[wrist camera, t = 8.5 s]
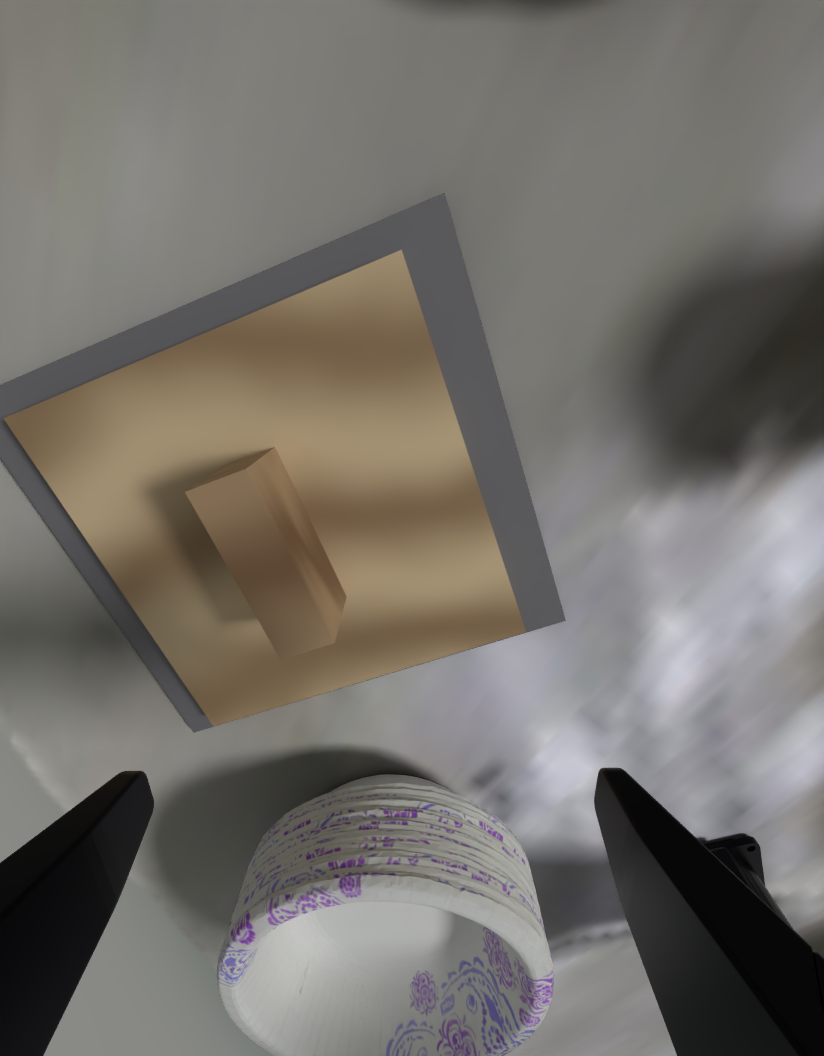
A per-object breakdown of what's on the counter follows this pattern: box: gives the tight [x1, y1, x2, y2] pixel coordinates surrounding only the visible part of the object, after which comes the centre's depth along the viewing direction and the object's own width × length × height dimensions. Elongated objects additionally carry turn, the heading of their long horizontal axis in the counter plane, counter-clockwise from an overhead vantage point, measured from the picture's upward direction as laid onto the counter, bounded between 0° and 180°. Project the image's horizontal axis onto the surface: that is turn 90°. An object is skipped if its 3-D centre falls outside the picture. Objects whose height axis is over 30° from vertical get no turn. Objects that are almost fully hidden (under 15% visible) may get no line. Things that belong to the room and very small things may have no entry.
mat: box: [0, 193, 566, 732], centre depth 20 cm, size 18×20×1 cm
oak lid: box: [3, 250, 526, 726], centre depth 18 cm, size 16×16×4 cm
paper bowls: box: [217, 774, 554, 1056], centre depth 24 cm, size 15×15×8 cm
